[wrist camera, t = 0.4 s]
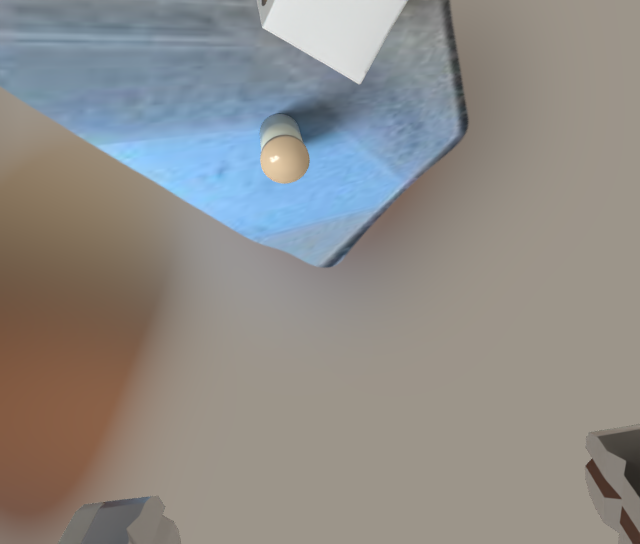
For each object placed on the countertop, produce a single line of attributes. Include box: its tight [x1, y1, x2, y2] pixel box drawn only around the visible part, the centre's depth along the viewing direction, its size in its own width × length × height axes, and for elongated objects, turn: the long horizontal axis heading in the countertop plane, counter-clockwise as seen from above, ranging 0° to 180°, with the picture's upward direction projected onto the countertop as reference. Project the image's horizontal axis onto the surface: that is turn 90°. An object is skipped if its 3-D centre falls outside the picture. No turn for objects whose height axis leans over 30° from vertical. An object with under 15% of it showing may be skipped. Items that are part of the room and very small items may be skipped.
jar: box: [259, 114, 309, 183], centre depth 53 cm, size 5×5×8 cm
